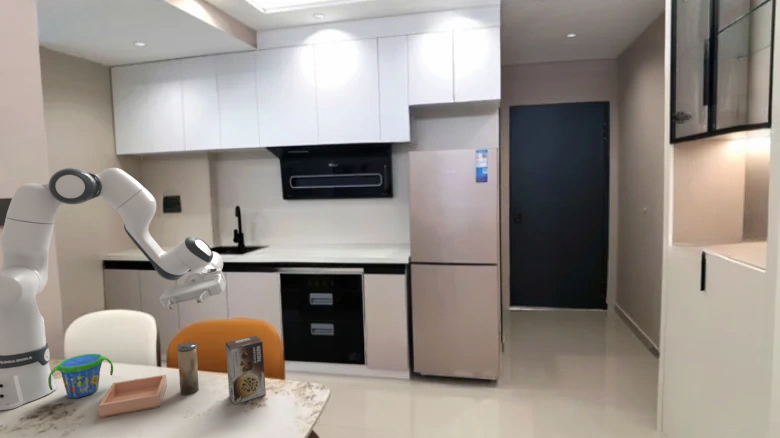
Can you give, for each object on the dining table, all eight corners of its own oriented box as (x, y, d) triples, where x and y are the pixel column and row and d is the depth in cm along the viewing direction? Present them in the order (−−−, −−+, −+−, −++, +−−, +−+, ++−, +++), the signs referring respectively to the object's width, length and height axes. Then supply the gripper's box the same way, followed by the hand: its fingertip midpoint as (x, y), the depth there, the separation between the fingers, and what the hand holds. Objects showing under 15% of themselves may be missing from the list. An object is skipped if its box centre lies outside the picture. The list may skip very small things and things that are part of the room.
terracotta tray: (99, 418, 110) (98, 405, 110) (113, 394, 123) (113, 383, 123) (159, 407, 115) (158, 394, 115) (166, 385, 128) (166, 374, 128)
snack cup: (114, 379, 133) (112, 348, 133) (114, 392, 125) (111, 359, 124) (52, 393, 125) (49, 360, 124) (47, 408, 116) (44, 373, 115)
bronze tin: (178, 396, 121) (176, 350, 120) (181, 388, 126) (178, 343, 125) (198, 393, 123) (195, 347, 122) (199, 385, 128) (197, 341, 127)
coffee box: (259, 386, 126) (257, 334, 125) (266, 395, 120) (263, 341, 119) (228, 395, 121) (225, 341, 119) (233, 405, 115) (230, 348, 114)
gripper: (166, 281, 141) (147, 304, 128) (224, 267, 141) (211, 288, 128) (174, 296, 143) (156, 320, 131) (231, 282, 143) (219, 305, 130)
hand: (184, 304), depth 129 cm, fingers open, 8 cm apart
